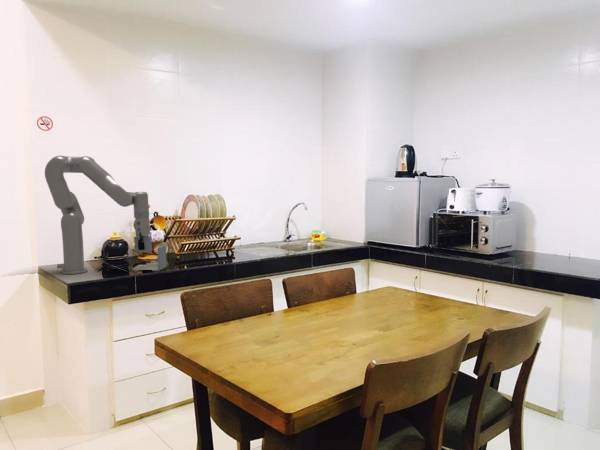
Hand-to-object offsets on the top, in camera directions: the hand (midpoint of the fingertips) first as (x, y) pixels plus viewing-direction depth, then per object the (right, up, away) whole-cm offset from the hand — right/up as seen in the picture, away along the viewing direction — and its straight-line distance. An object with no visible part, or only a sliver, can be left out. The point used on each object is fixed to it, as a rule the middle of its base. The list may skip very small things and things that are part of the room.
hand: (143, 248), depth 266 cm
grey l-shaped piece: (+3, -11, +1) cm, 11 cm away
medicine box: (0, -2, 0) cm, 2 cm away
